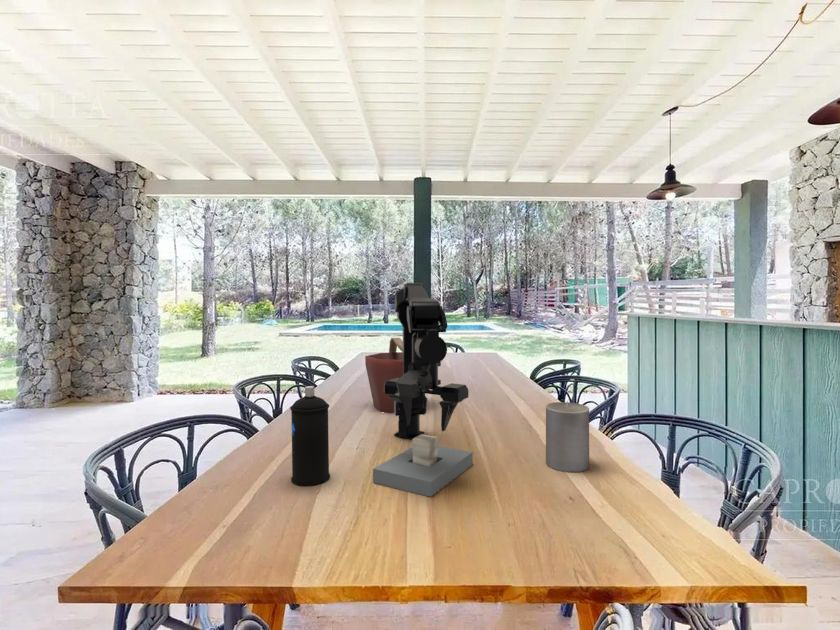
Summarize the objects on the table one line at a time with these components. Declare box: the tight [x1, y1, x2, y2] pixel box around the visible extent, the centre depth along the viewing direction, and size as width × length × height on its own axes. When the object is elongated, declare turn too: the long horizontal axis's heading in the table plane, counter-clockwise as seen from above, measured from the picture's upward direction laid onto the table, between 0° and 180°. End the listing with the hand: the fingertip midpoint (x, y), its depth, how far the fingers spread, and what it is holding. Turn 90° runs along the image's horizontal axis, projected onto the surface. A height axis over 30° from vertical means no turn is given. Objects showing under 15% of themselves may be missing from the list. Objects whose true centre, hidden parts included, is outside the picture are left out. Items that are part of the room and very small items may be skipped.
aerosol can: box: [289, 385, 331, 487], centre depth 98 cm, size 8×8×20 cm
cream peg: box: [412, 434, 438, 467], centre depth 100 cm, size 4×4×8 cm
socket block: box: [372, 445, 474, 498], centre depth 101 cm, size 20×14×3 cm
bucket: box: [364, 337, 403, 414], centre depth 160 cm, size 24×22×25 cm
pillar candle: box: [545, 400, 590, 473], centre depth 105 cm, size 10×10×15 cm
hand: (425, 427), depth 100 cm, fingers open, 9 cm apart
